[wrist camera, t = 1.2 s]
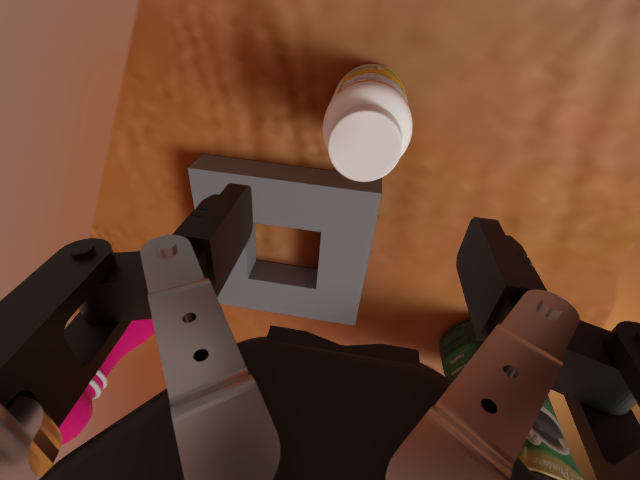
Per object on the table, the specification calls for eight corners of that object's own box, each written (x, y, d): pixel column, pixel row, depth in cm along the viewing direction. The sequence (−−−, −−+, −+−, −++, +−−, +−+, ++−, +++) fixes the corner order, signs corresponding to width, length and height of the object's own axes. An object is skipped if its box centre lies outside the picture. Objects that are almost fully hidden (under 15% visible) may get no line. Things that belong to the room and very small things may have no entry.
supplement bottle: (373, 150, 28) (369, 210, 20) (320, 108, 27) (295, 156, 19) (421, 94, 25) (439, 141, 18) (365, 45, 24) (357, 71, 16)
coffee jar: (425, 341, 41) (450, 541, 26) (477, 305, 36) (543, 522, 22) (486, 375, 43) (541, 578, 28) (542, 345, 38) (642, 568, 24)
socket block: (202, 153, 31) (187, 167, 28) (381, 177, 29) (381, 193, 27) (220, 283, 40) (210, 302, 38) (356, 305, 39) (354, 325, 37)
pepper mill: (119, 254, 40) (-57, 431, 24) (180, 271, 40) (45, 459, 24) (125, 295, 44) (-21, 469, 28) (179, 311, 44) (65, 492, 28)
